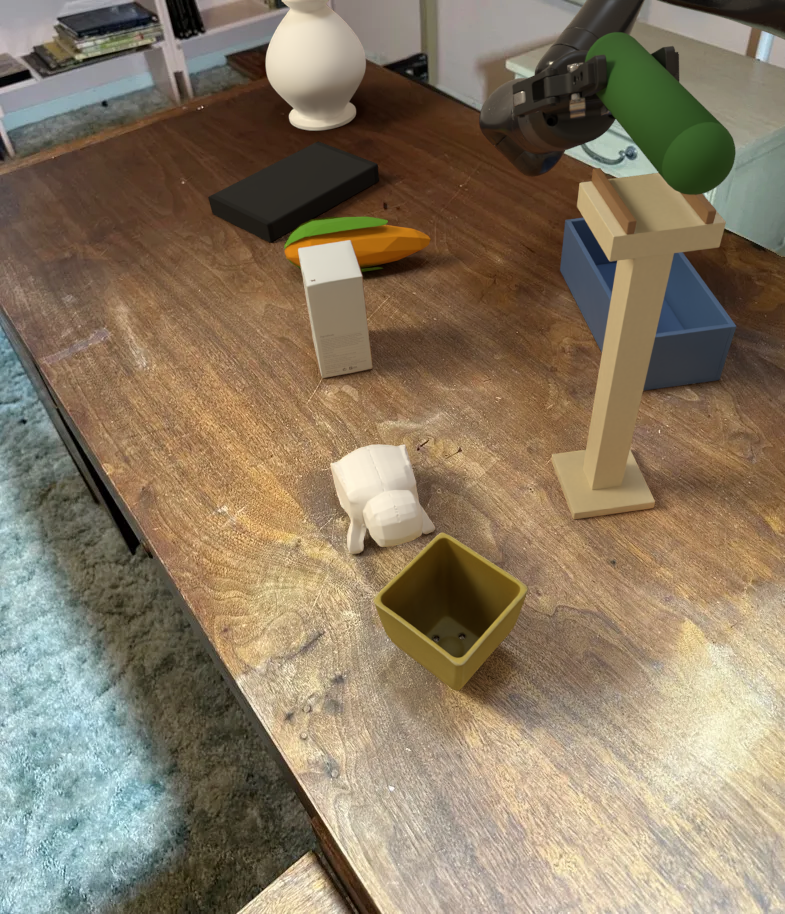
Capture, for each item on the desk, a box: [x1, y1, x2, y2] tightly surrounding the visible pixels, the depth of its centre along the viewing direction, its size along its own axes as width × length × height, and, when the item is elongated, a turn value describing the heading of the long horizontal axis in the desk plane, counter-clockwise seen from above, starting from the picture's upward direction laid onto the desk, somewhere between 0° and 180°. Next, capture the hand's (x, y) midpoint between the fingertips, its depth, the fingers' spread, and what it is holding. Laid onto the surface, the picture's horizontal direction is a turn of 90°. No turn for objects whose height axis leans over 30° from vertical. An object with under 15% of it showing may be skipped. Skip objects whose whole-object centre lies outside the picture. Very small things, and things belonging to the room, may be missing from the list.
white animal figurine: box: [330, 443, 436, 555], centre depth 72 cm, size 9×8×15 cm
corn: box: [283, 216, 431, 273], centre depth 104 cm, size 7×8×20 cm
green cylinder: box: [585, 32, 736, 195], centre depth 53 cm, size 20×4×4 cm, turn 7°
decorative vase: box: [265, 0, 367, 131], centre depth 133 cm, size 18×18×25 cm
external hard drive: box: [207, 140, 380, 243], centre depth 121 cm, size 14×23×3 cm, turn 137°
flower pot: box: [373, 531, 529, 692], centre depth 62 cm, size 9×9×9 cm
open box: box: [559, 217, 737, 392], centre depth 92 cm, size 11×25×8 cm, turn 7°
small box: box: [298, 240, 374, 379], centre depth 89 cm, size 8×6×13 cm
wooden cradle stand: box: [550, 167, 727, 520], centre depth 66 cm, size 8×9×31 cm
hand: (635, 66), depth 55 cm, fingers closed on green cylinder, 4 cm apart
